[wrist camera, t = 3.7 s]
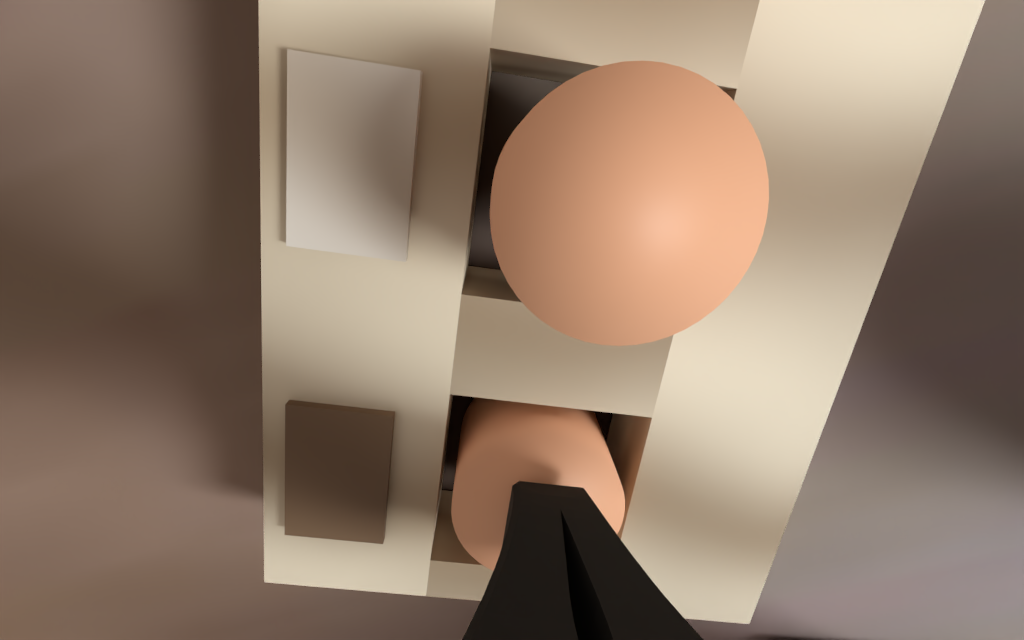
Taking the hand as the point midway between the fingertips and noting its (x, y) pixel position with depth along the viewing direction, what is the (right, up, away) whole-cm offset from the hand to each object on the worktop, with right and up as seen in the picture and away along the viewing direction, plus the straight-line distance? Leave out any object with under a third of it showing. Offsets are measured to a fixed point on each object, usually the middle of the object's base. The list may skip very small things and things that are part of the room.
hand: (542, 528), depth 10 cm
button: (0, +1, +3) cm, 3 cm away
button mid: (+1, +6, -1) cm, 6 cm away
